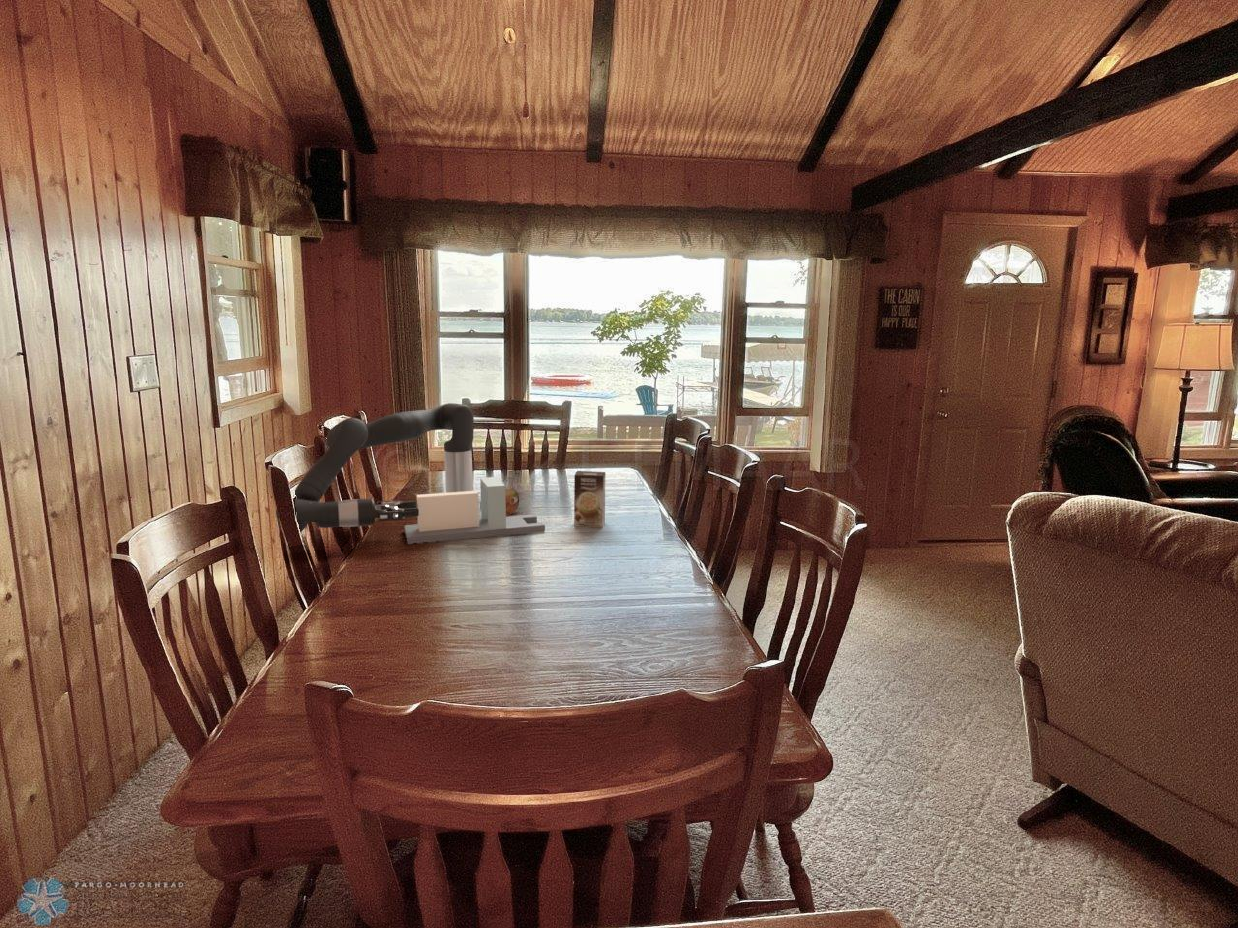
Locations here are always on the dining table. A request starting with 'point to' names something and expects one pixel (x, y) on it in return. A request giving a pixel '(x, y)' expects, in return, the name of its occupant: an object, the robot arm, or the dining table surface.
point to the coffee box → (589, 499)
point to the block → (448, 510)
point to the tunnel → (493, 502)
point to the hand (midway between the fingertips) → (417, 508)
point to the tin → (510, 501)
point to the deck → (476, 530)
